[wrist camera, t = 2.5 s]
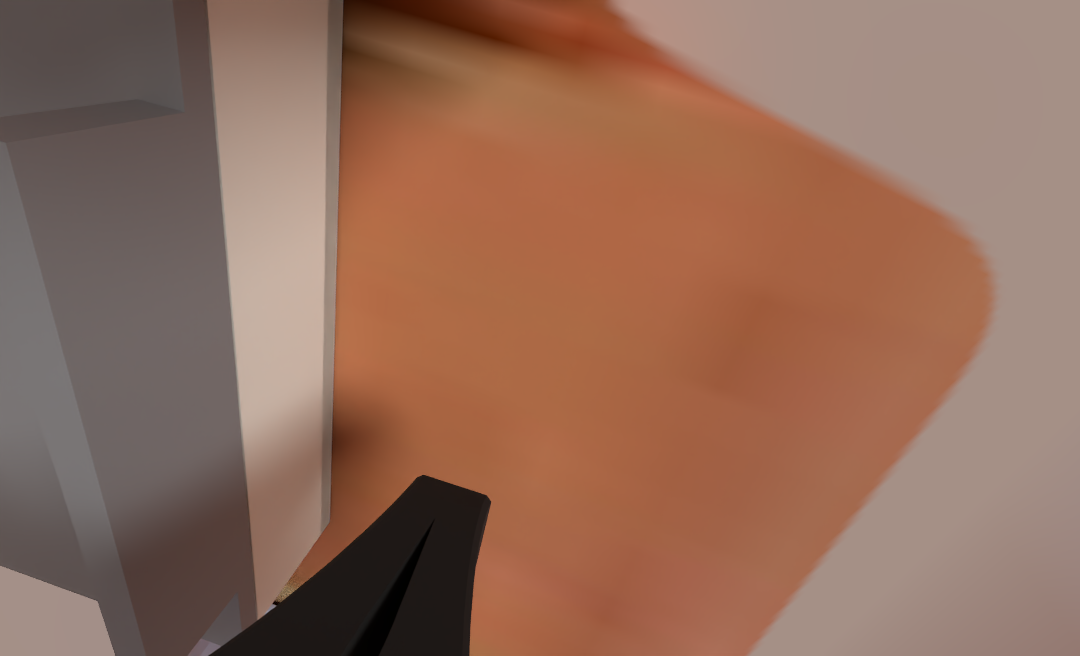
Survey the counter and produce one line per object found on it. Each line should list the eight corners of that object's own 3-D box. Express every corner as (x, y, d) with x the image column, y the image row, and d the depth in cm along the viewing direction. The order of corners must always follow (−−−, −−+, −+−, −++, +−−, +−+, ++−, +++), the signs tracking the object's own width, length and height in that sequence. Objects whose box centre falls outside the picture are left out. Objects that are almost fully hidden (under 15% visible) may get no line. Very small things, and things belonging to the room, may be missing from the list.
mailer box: (330, 521, 20) (258, 623, 17) (-8, 407, 21) (-141, 480, 18) (345, -77, 11) (196, -125, 8) (-244, -220, 12) (-603, -317, 9)
